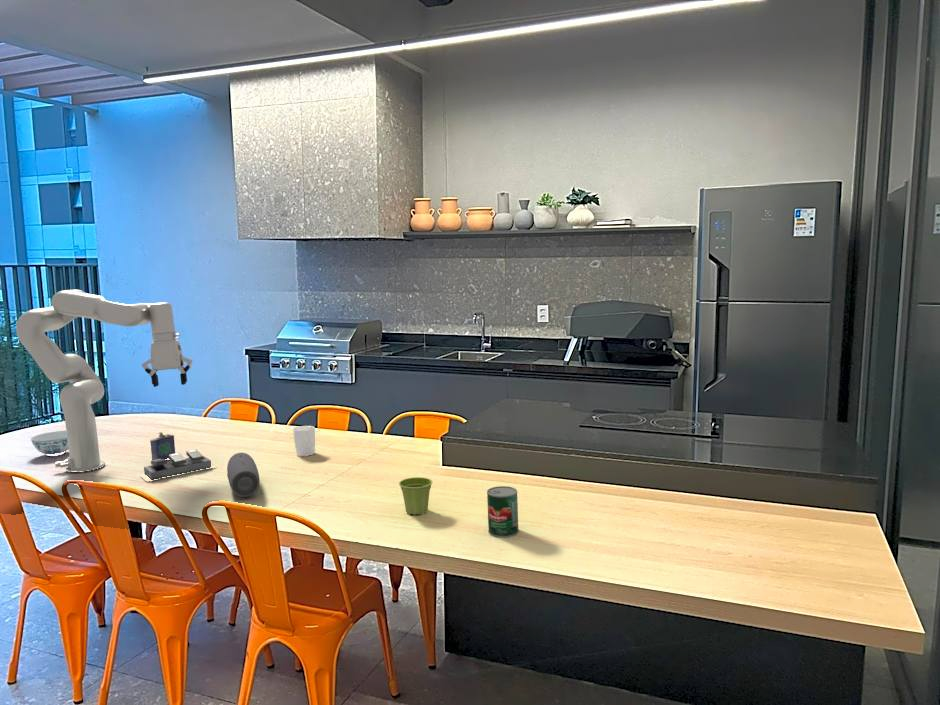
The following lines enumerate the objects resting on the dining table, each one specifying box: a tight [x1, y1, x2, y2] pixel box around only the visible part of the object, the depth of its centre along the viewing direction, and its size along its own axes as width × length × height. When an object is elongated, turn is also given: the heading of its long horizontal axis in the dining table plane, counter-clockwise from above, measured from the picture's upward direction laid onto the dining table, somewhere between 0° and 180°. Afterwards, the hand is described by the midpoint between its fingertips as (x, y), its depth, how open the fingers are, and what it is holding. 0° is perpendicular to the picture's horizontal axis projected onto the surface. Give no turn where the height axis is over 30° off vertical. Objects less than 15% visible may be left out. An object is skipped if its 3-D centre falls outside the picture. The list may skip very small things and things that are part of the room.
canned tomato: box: [486, 485, 520, 538], centre depth 185 cm, size 8×8×11 cm
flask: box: [149, 431, 176, 461], centre depth 264 cm, size 9×3×11 cm, turn 146°
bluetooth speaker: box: [226, 452, 260, 498], centre depth 227 cm, size 23×9×10 cm, turn 21°
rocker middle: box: [169, 452, 186, 465], centre depth 249 cm, size 4×7×1 cm, turn 39°
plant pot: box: [398, 476, 433, 516], centre depth 202 cm, size 9×9×9 cm
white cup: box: [292, 425, 316, 457], centre depth 266 cm, size 8×8×10 cm
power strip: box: [143, 455, 212, 480], centre depth 249 cm, size 23×10×3 cm, turn 129°
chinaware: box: [30, 430, 69, 455], centre depth 278 cm, size 15×15×8 cm
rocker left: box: [150, 459, 169, 466], centre depth 245 cm, size 4×7×1 cm, turn 39°
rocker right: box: [185, 449, 204, 461], centre depth 253 cm, size 4×7×1 cm, turn 39°
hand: (170, 385), depth 254 cm, fingers open, 9 cm apart
